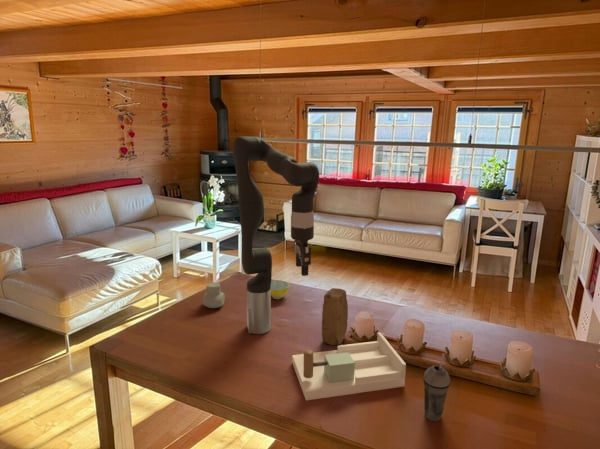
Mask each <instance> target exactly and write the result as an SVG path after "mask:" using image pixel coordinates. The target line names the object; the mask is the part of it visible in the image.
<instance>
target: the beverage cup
mask: <svg viewBox="0 0 600 449" xmlns="http://www.w3.org/2000/svg"><path fill="white" fill-rule="evenodd" d="M444 358H445V353H444V352H442V355H441V360H440V362H439V365H432V366H429V367H428V368H427V369H426V370H425V371H424V375H423V377H422V381H423V386H424V387H423V388H424V390H423V391H424V395H423V396H424V399H423V400H424V404H423V405H424V406H423V407H424V417H425V418H426V419H427V420H429V421H431V422H438V421H440V420H442V416H443V411H444V409H445V408H444V407H445V402H446V399H447V395H448V394H447V393H448V391H449V388H450V386H451V378H450V375H449V373H448V371H447V370H446V369H445V368H444V367H443V366H442V365H443V361H444Z"/></svg>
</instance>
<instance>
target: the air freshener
mask: <svg viewBox="0 0 600 449" xmlns="http://www.w3.org/2000/svg"><path fill="white" fill-rule="evenodd" d="M225 295H226V294H225V293H224V292H222V291H221V284H220V283H219V282H214V281H213V282H210V283H207V285H206V292H205V294H204V295H203V299H202V305H203V306H204V307H206V308H208V309H217V308H220V307H222V306H224V303H225V300H226V299H225V298H226V296H225Z"/></svg>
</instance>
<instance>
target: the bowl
mask: <svg viewBox="0 0 600 449" xmlns="http://www.w3.org/2000/svg"><path fill="white" fill-rule="evenodd" d="M289 289H290V283H289V282H287V281H284V280H280V279H278V280H277V279H275V280H271V299H275V300H280V299H282V297H284V296H285V295H286V294H287V293H288V292H289Z"/></svg>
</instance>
